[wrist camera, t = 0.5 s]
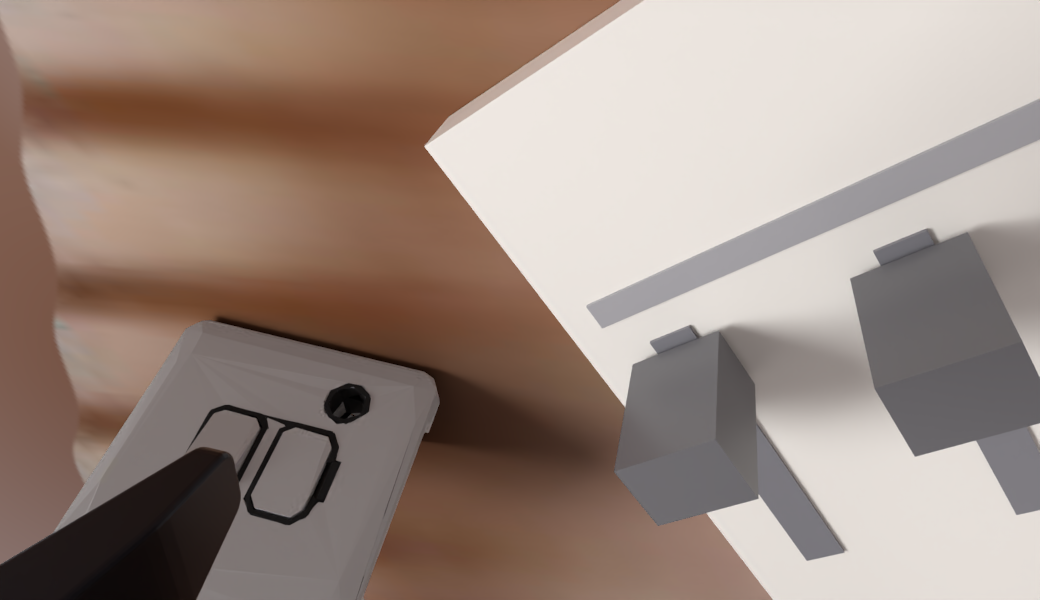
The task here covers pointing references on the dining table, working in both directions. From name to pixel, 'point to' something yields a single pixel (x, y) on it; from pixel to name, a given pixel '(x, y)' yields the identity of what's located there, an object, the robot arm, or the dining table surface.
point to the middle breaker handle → (945, 348)
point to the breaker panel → (787, 249)
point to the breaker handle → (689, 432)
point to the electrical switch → (280, 455)
